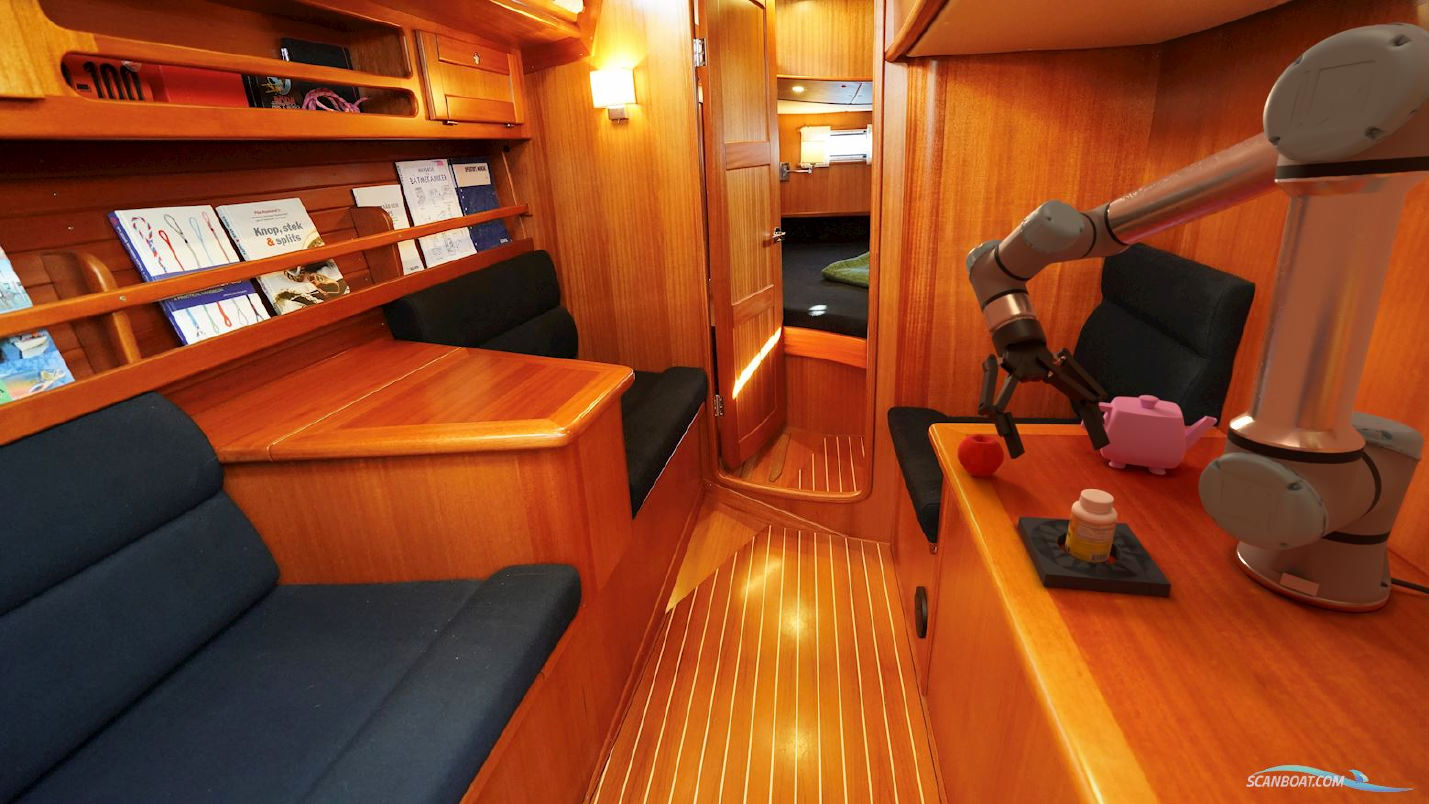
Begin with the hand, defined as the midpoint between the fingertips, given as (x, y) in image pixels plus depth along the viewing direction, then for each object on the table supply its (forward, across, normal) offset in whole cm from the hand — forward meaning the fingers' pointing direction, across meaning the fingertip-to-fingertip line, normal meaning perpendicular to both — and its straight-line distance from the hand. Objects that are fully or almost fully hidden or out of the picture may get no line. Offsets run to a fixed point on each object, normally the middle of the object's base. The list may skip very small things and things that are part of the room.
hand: (1060, 451), depth 95 cm
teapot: (-2, -30, -21) cm, 36 cm away
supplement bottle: (+15, 0, -3) cm, 16 cm away
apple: (-4, +1, -23) cm, 23 cm away
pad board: (+15, 0, -3) cm, 16 cm away
